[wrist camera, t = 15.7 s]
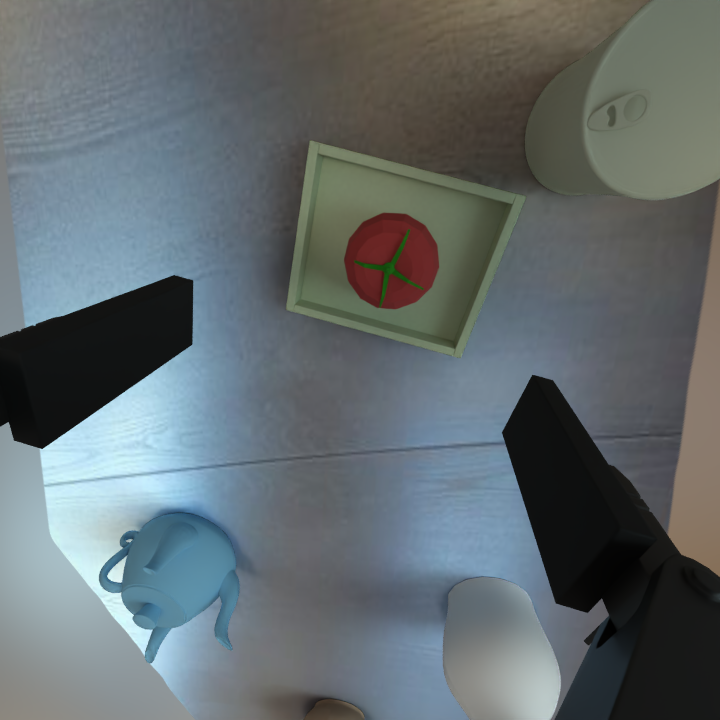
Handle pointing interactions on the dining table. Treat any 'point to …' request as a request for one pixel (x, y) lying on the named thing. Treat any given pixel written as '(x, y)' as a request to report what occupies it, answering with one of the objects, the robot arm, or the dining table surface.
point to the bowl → (334, 711)
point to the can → (635, 109)
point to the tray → (420, 201)
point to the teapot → (175, 575)
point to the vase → (498, 653)
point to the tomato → (391, 260)
